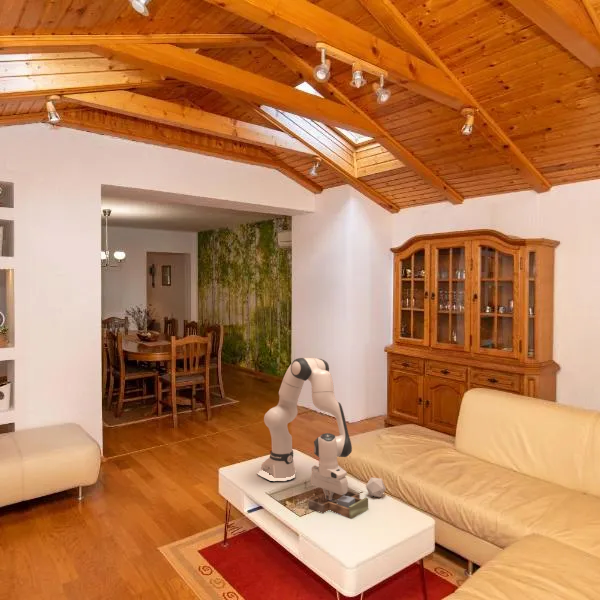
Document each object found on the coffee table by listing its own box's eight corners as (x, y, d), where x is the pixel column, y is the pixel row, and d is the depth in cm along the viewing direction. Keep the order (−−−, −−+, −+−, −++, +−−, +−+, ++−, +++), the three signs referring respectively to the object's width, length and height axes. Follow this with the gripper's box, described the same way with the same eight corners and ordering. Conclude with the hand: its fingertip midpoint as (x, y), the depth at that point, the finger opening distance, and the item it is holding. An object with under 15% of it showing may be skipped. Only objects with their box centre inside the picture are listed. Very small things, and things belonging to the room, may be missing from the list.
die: (374, 502, 226) (386, 484, 226) (360, 489, 231) (372, 472, 231) (379, 502, 233) (391, 485, 234) (365, 489, 238) (376, 473, 238)
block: (337, 509, 218) (337, 499, 218) (343, 504, 223) (343, 495, 223) (348, 512, 214) (348, 502, 214) (355, 507, 219) (355, 498, 219)
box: (304, 506, 222) (304, 495, 222) (333, 492, 237) (332, 482, 237) (345, 522, 205) (345, 510, 205) (373, 506, 220) (373, 495, 220)
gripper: (307, 466, 230) (307, 495, 230) (341, 476, 216) (341, 507, 216) (316, 462, 234) (316, 491, 234) (349, 472, 220) (350, 502, 221)
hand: (328, 499), depth 225 cm, fingers closed
